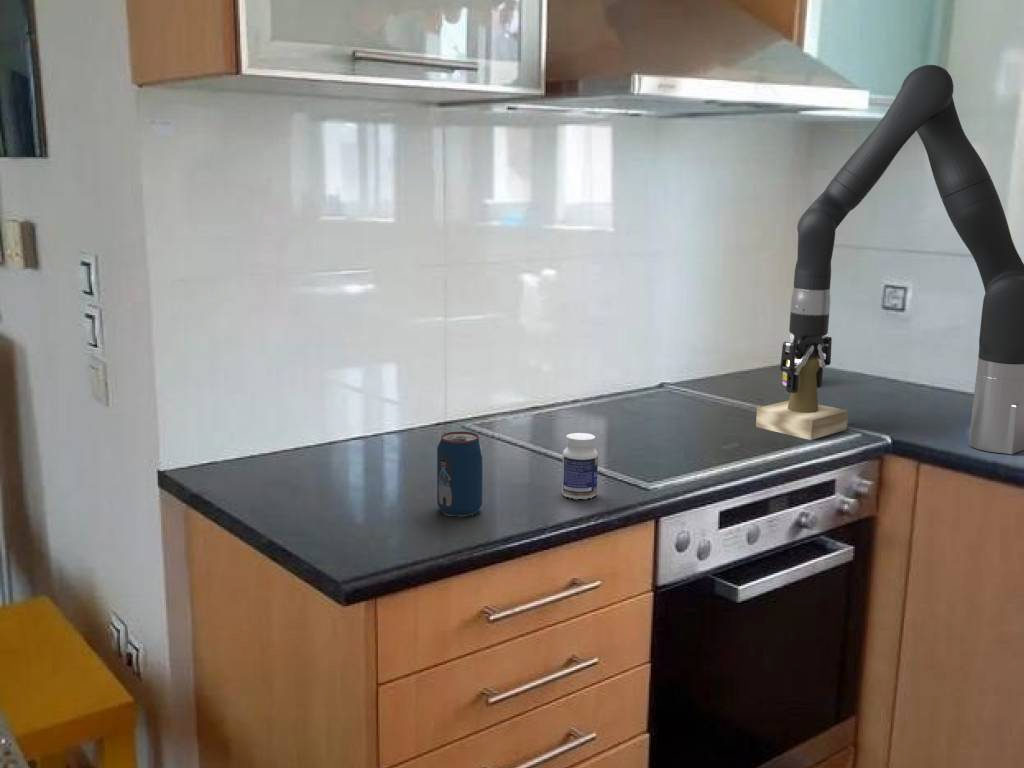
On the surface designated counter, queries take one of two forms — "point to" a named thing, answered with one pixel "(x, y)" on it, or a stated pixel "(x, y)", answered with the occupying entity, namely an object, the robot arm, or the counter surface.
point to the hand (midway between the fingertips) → (804, 389)
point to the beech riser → (802, 420)
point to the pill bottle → (580, 466)
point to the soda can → (459, 473)
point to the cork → (806, 389)
